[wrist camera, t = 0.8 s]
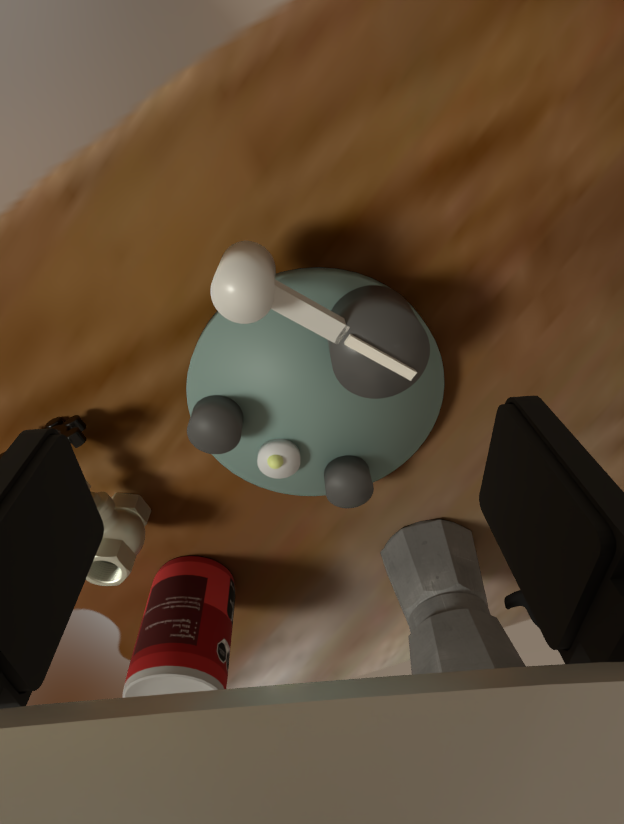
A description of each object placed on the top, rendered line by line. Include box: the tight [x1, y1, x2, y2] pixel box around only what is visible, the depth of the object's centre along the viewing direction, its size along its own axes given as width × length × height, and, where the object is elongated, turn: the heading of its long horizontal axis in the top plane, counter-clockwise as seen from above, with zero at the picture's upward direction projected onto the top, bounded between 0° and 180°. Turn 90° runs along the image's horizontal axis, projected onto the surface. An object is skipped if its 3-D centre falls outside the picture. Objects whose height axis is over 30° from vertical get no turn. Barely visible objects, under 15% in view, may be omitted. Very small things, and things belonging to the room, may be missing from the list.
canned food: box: [123, 556, 236, 698], centre depth 41 cm, size 8×8×11 cm
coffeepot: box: [380, 519, 539, 675], centre depth 37 cm, size 15×9×18 cm, turn 129°
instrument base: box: [186, 267, 444, 508], centre depth 32 cm, size 18×18×4 cm
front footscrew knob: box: [211, 241, 430, 399], centre depth 26 cm, size 13×6×6 cm, turn 59°
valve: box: [0, 415, 151, 586], centre depth 35 cm, size 7×7×12 cm
